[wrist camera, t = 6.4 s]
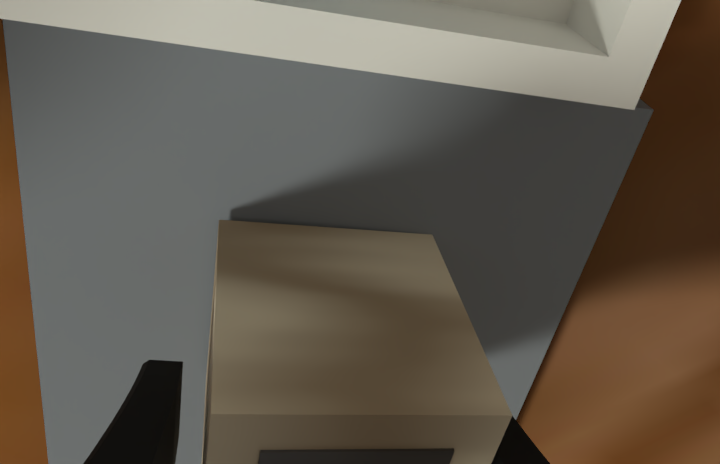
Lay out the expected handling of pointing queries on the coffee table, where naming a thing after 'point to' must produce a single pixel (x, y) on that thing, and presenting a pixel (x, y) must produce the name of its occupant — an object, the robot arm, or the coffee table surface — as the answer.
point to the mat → (278, 200)
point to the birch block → (343, 352)
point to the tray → (407, 37)
